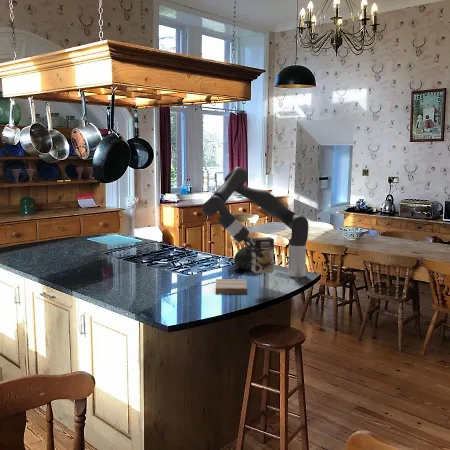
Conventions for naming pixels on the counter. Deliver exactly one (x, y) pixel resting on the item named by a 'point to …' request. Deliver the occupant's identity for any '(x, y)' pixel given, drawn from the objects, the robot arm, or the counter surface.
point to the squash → (243, 258)
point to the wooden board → (231, 286)
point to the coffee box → (267, 250)
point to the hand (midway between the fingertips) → (261, 254)
